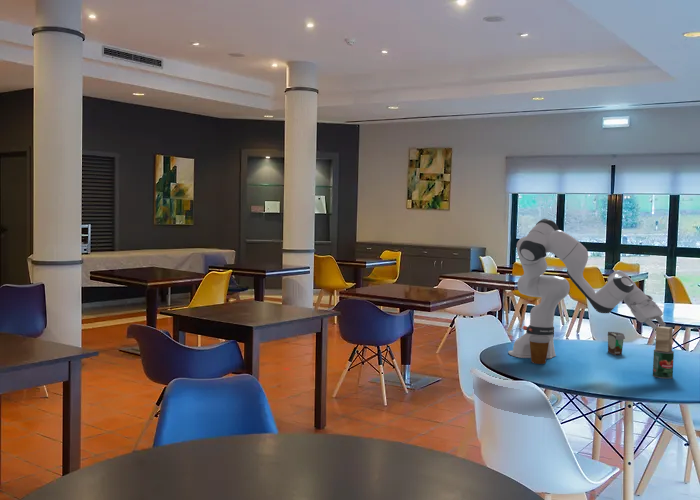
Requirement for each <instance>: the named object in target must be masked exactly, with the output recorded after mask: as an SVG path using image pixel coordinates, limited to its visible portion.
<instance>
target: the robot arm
mask: <svg viewBox="0 0 700 500" xmlns="http://www.w3.org/2000/svg"><path fill="white" fill-rule="evenodd" d="M516 251H517V256H518V259H519V261H520V264H521V266H522V267H521V268H522V269H523V274H522V275H521V276H520V277H519V279H518V280H517V282H516V283H517V286H516V287H517V290H518V292H519V293H520V294H521V295H524V296H527V297H533V298H541V300H540V302H539V304H536V305H535V306H533V307H532V308H531V310H530V313H529V314H530V315H529V317H530V318H529V325H528V326H526V325H523V326H522V330H524V331H526V332H525V333H524V334H523V335H522V336H520V337H519V338H517V339H516V340H515V341H514V343H513V347H512V350H508V354H509V355H510V356H511V357H516V358H519V359H521V358H522V359H531V351H530V341H529V338H530V336H531V335H542V336H548V337H549V339H550V342H549V346H548V351H547V357H546V359H552V358H554V357H556V356H557V355H556V351H555V345H554V343H555V342H554V336H555V326H554V320H555V312H556V308H557V307H558V305H559V304H560V302H561V301H562V300H563V299H565V298H566V297H567V296H568V295H569V293H570V290H571V288H570V282H569V281H568V280H567V279H566V278H565V277H561V276H558V275H557V276H556V275H550V274H549V275H547V274H545V273H546V271H547V269H548V262H547V261H546V257H547V253H551V254H553V255H555V256H556V257H557V259H559V260H560V261H562V262H563V264H564V265H565V267H566V275H567V276H568V278H569V279H570V280H571V281H572V283H573V284H574V285H575V286H576V287H577V289H578V290H579V291H580V292H581V293H582V295H583V296H584V297H585V298H586V299H587V300H588V302H589V303H590V304H591V306H592V308H594V310H595V311H596V312H597V313H600V314H609V313H611V312H612V311H613V310H614V309H615V308H616V307H617V306H618V305H619V304H620V303H621V302H622V301H623V302H624V304H625V305H626V306H627V307H628V309H629V310H630V312H631V314H632V315H633V316H634V318H635V319H636V320H637V321H638V322H640V323H645V324H646V325H647V326H649V327H651V329H652V330H656V328H657V327H658V325H659V326H664V327H666V323H665V322H664V320H663V318H662V316H663V314H664V313H663V311H662V310H661V308H660V307H659V306H658V304H657V303H656V302H655V301H654V300H653V297H652V296H651V295H648V294H647V293H645V292H644V291H642V289H640V288H639V287H638V286H637V285H636V282H635V281H634V280H633V279H632V278H631V277H630V276H629V275H628V274H626V273H625V272H624V271H623V270H615V271H613V272H611V273H610V274H609V275H608V277H607V282H606V283H605V284H604V285H603V286H602V287H601V288H600V289H599V290H597V291H596V290H595V289H594V288H593V287H592V285H591V284H590V283H589V282H588V281H587V280H586V279H585V278H584V271H585V268H586V265H587V263H588V260H589V252H588V249H587V248H586V246H585V245H583V244H582V243H581V242H580V241H578V240H577V239H576V238H575V237H573V236H572V235H570V234H569V233H567V232H565V231H563V230H560V229H559V226H558V225H557V223H556V222H555V221H553V220H552V219H549V218H542V219H540V220H539V221H538V222H537V223H536V224H535V225H534V227H532V229H531V230H529V232H528V234H527V235H526V236H523V237H521V238H519V240H518V241H517V242H516ZM654 320H656V321H657V322H658V325H657V324H656V323H654V322H653V321H654Z"/></svg>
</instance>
